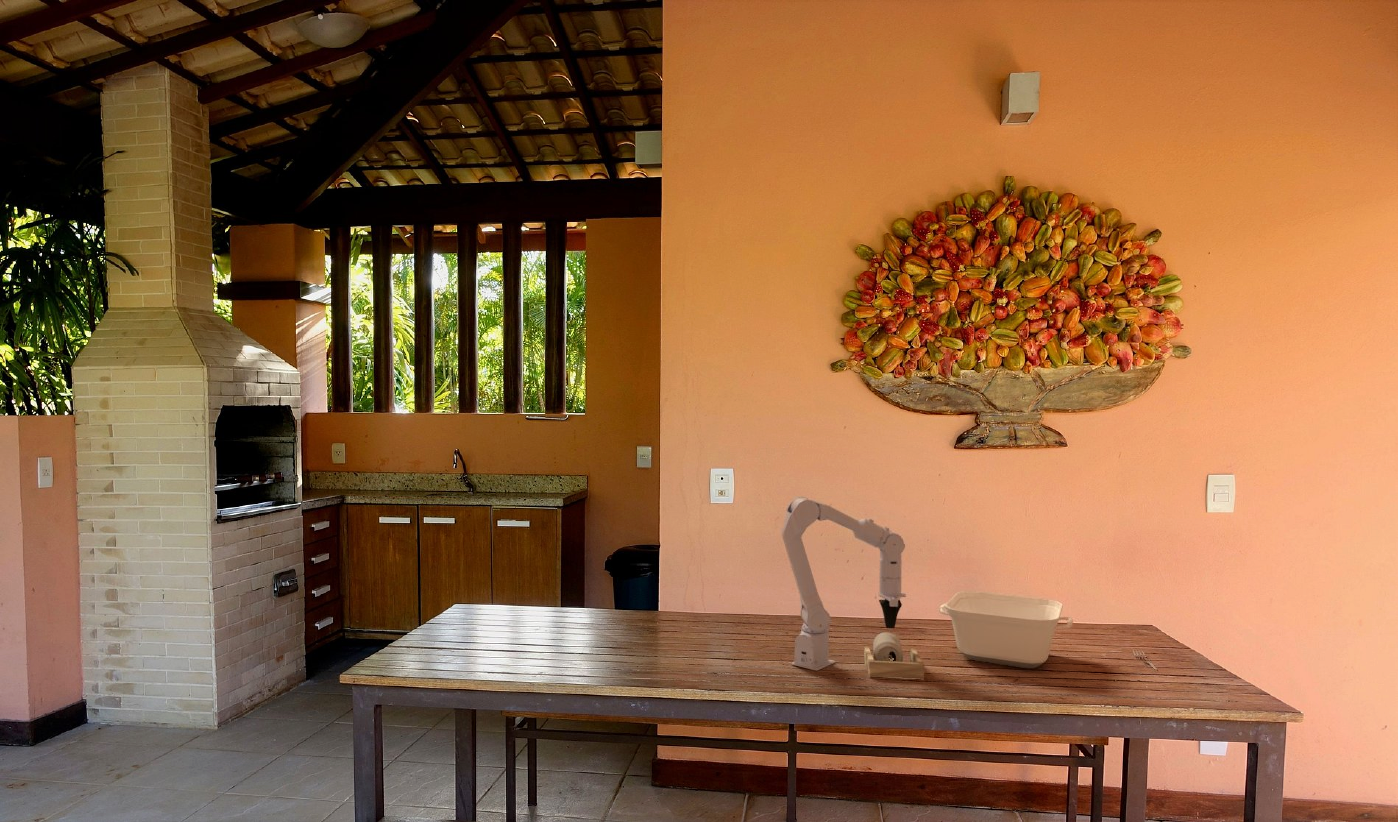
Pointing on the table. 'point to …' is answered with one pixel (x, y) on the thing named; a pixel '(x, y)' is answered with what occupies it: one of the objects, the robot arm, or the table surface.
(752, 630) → the table surface
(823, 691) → the table surface
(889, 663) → the tray
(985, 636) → the pot
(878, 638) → the can
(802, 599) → the robot arm
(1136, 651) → the fork
